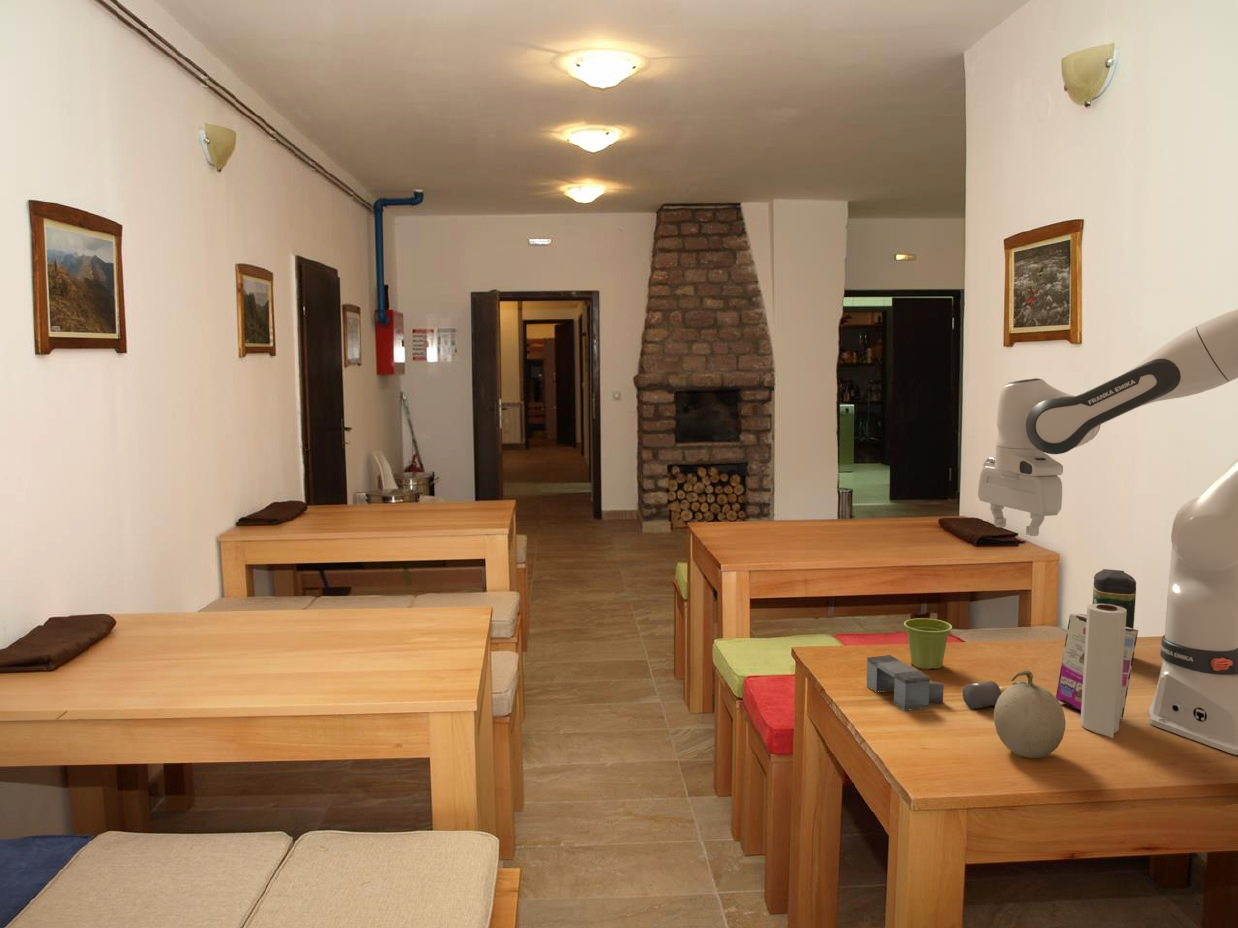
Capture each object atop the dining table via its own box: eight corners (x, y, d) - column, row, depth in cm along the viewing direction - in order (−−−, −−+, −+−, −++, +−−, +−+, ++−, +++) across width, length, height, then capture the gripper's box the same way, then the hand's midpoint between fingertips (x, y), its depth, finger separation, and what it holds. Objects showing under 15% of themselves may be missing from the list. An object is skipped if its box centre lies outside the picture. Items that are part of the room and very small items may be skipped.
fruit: (1040, 738, 161) (1045, 651, 159) (1075, 767, 150) (1081, 675, 148) (979, 739, 161) (983, 652, 159) (1009, 768, 149) (1014, 676, 147)
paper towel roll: (1085, 717, 170) (1092, 600, 167) (1122, 726, 166) (1130, 606, 163) (1074, 730, 164) (1081, 609, 161) (1113, 739, 160) (1121, 615, 158)
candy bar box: (1124, 721, 168) (1140, 629, 167) (1103, 720, 166) (1119, 628, 165) (1074, 699, 179) (1089, 613, 177) (1053, 699, 177) (1068, 612, 176)
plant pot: (941, 676, 191) (943, 633, 190) (895, 666, 197) (897, 625, 196) (956, 663, 199) (958, 623, 198) (912, 655, 204) (913, 615, 203)
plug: (1014, 693, 181) (1017, 672, 180) (1031, 704, 177) (1034, 682, 176) (961, 702, 176) (963, 680, 175) (977, 713, 172) (980, 690, 171)
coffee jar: (1134, 666, 197) (1140, 578, 194) (1091, 662, 199) (1096, 575, 197) (1127, 652, 206) (1133, 568, 203) (1087, 648, 208) (1092, 565, 206)
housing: (948, 705, 176) (949, 674, 175) (904, 710, 173) (905, 679, 172) (907, 681, 188) (908, 653, 187) (866, 686, 185) (867, 657, 185)
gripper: (971, 456, 197) (968, 522, 198) (1041, 468, 177) (1037, 541, 179) (997, 455, 199) (994, 521, 200) (1070, 467, 179) (1065, 539, 181)
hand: (1015, 531), depth 189 cm, fingers open, 8 cm apart
